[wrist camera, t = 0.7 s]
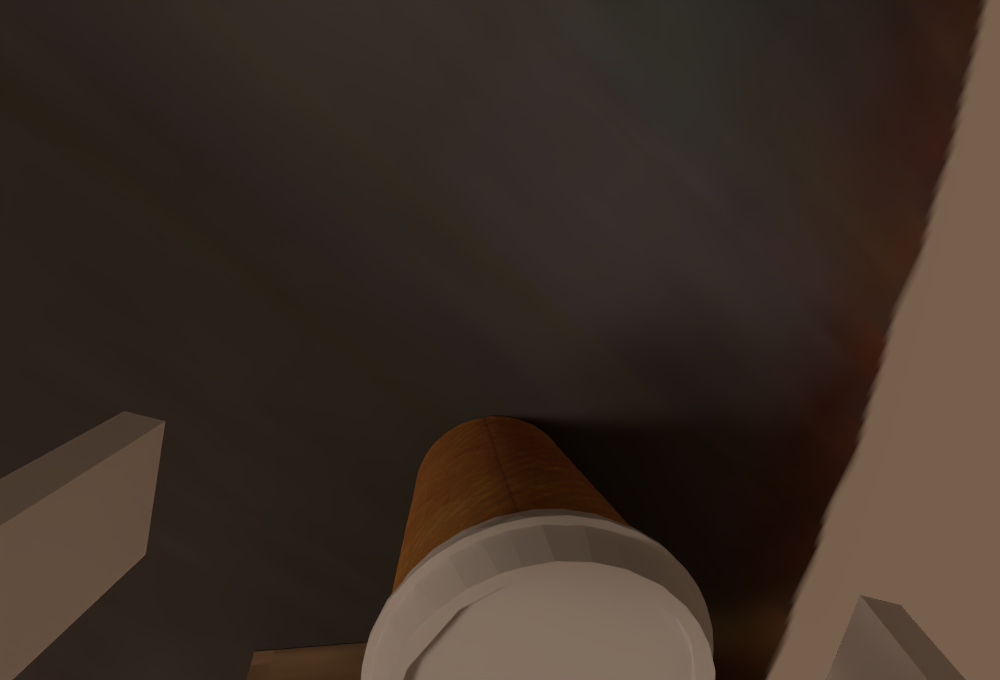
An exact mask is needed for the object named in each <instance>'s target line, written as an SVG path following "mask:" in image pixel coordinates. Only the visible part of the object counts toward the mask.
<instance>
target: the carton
mask: <svg viewBox="0 0 1000 680" xmlns="http://www.w3.org/2000/svg"><path fill="white" fill-rule="evenodd" d="M367 643H368V642H365V643H353V644H341V645H329V646H317V647H305V648H293V649H281V650H269V651H257V652H254V655H253V659H252V662H251V666H250V669H249V673H248V676H247V680H361V672H362V664H363V660H364V655H365V651H366V647H367Z"/></svg>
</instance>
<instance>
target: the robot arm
mask: <svg viewBox="0 0 1000 680" xmlns="http://www.w3.org/2000/svg"><path fill="white" fill-rule="evenodd" d="M164 426H165V421H161V420H157V419H153V418H149V417H145V416H141V415H137V414H133V413H129V412H125V411H124V412H122V413H120V414H119V415H117V416H115V417H113V418H111V419H109V420H108V421H106V422H104V423H102V424H100V425H98V426H97V427H95V428H93V429H91V430H89V431H87V432H86V433H84V434H82V435H80V436H78V437H76V438H75V439H73V440H71V441H69V442H67V443H65V444H64V445H62V446H60V447H58V448H56V449H54V450H53V451H51V452H49V453H47V454H45V455H43V456H42V457H40V458H38V459H36V460H34V461H32V462H31V463H29V464H27V465H25V466H23V467H21V468H20V469H18V470H16V471H14V472H12V473H10V474H9V475H7V476H5V477H3V478H1V479H0V680H13V679H14V678H15V677H16V676H17V675H18V674H19V673H20V672H21V671H22V670H23V669H24V668H25V667H26V666H28V665H29V664H30V663H31V662H32V661H33V660H34V659H35V658H36V657H37V656H38V655H39V654H40V653H41V652H42V651H43V650H45V649H46V648H47V647H48V646H49V645H50V644H51V643H52V642H53V641H54V640H55V639H56V638H57V637H58V636H59V635H60V634H62V633H63V632H64V631H65V630H66V629H67V628H68V627H69V626H70V625H71V624H72V623H73V622H74V621H75V620H76V619H77V618H79V617H80V616H81V615H82V614H83V613H84V612H85V611H86V610H87V609H88V608H89V607H90V606H91V605H92V604H93V603H94V602H95V601H97V600H98V599H99V598H100V597H101V596H102V595H103V594H104V593H105V592H106V591H107V590H108V589H109V588H110V587H111V586H112V585H114V584H115V583H116V582H117V581H118V580H119V579H120V578H121V577H122V576H123V575H124V574H125V573H126V572H127V571H128V570H129V569H131V568H132V567H133V566H134V565H135V564H136V563H137V562H138V561H139V560H140V559H141V558H142V557H143V556H144V555H145V554H146V548H147V541H148V535H149V528H150V521H151V514H152V507H153V501H154V494H155V487H156V480H157V474H158V467H159V460H160V453H161V446H162V440H163V433H164ZM827 680H965V679H964V677H963V676H962V675H961V674H960V673H959V672H958V671H957V669H956V668H955V667H954V666H953V665H952V664H951V662H950V661H949V660H948V659H947V658H946V657H945V656H944V654H943V653H942V652H941V651H940V650H939V649H938V648H937V647H936V645H935V644H934V643H933V642H932V641H931V640H930V638H929V637H928V636H927V635H926V634H925V633H924V631H923V630H922V629H921V628H920V627H919V626H918V625H917V624H916V622H915V621H914V620H913V619H912V618H911V617H910V615H909V614H908V613H907V612H906V611H905V610H904V609H903V607H902V606H900V605H897V604H894V603H890V602H886V601H882V600H878V599H873V598H870V597H866V596H862V595H860V597H859V599H858V602H857V604H856V607H855V609H854V612H853V614H852V617H851V619H850V622H849V625H848V627H847V629H846V632H845V635H844V637H843V640H842V642H841V644H840V647H839V650H838V652H837V655H836V657H835V659H834V662H833V664H832V667H831V669H830V672H829V674H828V677H827Z"/></svg>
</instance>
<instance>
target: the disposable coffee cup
mask: <svg viewBox="0 0 1000 680" xmlns="http://www.w3.org/2000/svg"><path fill="white" fill-rule="evenodd" d="M713 651H714V650H713V630H712V625H711V621H710V617H709V613H708V610H707V606H706V602H705V600H704V598H703V596H702V594H701V592H700V590H699V587H698V585H697V584H696V583H695V581H694V580H693V578H692V577H691V576H690V574H689V573H688V571H687V570H686V569H685V568H684V567H683V566H682V565H681V564H680V563H679V562H678V561H677V560H676V559H675V558H674V557H673V556H672V555H671V554H670V553H669V552H668V551H667V549H665V548H664V547H663V546H662V545H661V544H660V543H658V542H657V541H655V540H653V539H652V538H650V537H648V536H647V535H645V534H643V533H641V532H640V531H638V530H636V529H635V528H633V527H630V526H629V525H628V524H627V523H626V522H625V521H624V520H623V519H622V517H621V516H620V515H619V514H618V513H617V512H616V511H615V510H614V508H613V507H612V506H611V505H610V504H609V503H608V502H607V500H606V499H605V498H604V497H603V496H602V495H601V494H600V493H599V492H598V491H597V490H596V489H595V488H594V486H593V485H592V484H591V483H590V482H589V481H588V480H587V478H586V477H585V476H584V475H583V474H582V473H581V472H580V471H579V470H578V469H577V468H576V466H575V465H574V464H573V463H572V462H571V461H570V460H569V459H568V458H567V457H566V455H565V454H564V453H563V452H562V451H561V450H560V449H559V448H558V447H557V445H556V444H555V442H554V441H553V440H552V439H551V438H550V437H549V436H548V435H547V434H546V433H545V432H543V431H542V430H540V429H539V428H537V427H536V426H534V425H532V424H530V423H527V422H524V421H522V420H519V419H516V418H511V417H505V416H489V417H484V418H479V419H474V420H470V421H468V422H465V423H462V424H460V425H458V426H456V427H455V428H453V429H451V430H450V431H448V432H446V433H445V434H444V435H443V436H442V437H441V438H440V439H439V440H437V441H436V442H435V443H434V445H433V446H432V447H431V448H430V450H429V451H428V452H427V454H426V455H425V457H424V460H423V462H422V464H421V466H420V469H419V471H418V475H417V479H416V486H415V490H414V495H413V500H412V504H411V509H410V513H409V517H408V522H407V526H406V531H405V535H404V540H403V545H402V549H401V554H400V558H399V563H398V568H397V572H396V577H395V581H394V586H393V591H392V595H391V596H390V597H389V598H388V599H387V601H386V603H385V605H384V607H383V609H382V611H381V613H380V615H379V617H378V619H377V621H376V623H375V625H374V627H373V629H372V631H371V633H370V636H369V640H368V643H367V647H366V651H365V655H364V660H363V664H362V672H361V680H715V667H714V663H713Z"/></svg>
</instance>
